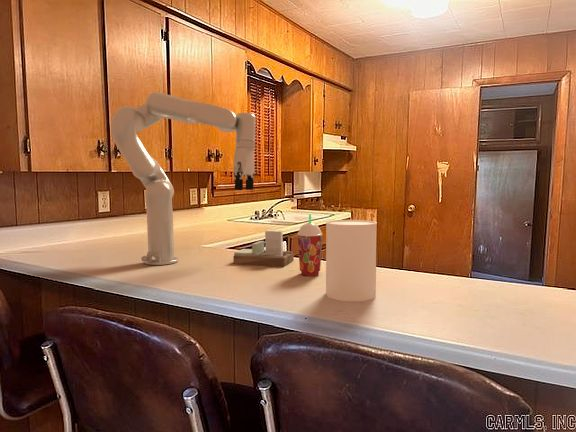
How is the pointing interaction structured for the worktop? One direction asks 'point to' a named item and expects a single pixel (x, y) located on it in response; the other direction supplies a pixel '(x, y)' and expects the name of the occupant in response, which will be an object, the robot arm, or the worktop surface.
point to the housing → (264, 259)
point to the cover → (253, 249)
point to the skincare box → (274, 242)
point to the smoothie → (310, 248)
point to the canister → (351, 260)
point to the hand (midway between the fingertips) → (244, 189)
